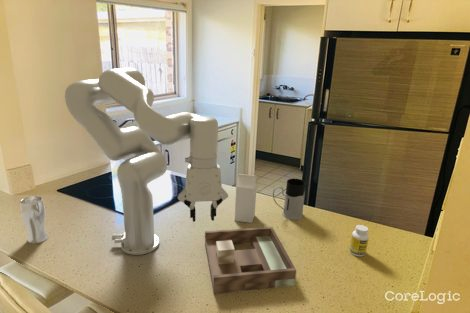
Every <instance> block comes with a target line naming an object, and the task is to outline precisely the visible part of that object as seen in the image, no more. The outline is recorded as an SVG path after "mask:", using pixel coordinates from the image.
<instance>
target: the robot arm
mask: <svg viewBox="0 0 470 313" xmlns="http://www.w3.org/2000/svg"><path fill="white" fill-rule="evenodd" d="M64 99H65V100H64V101H65V105H66V108H67V110H68V112H69V114H70V115H71V116H72V117H73V119H74V120H75V121H76V122H77V123H79V125H81V127H82V128H83V129H85V131H86V132H87V133H88V134H89V135H90V137H91V139H93V141H94V142H95V144H96V145H97V146H98V147H99V149H100V150H101V151H102V153H103V154H104V155H105V156H106V157H107V158H108V159H109V160H110V161H114V162H116V161H121V160H124V159H125V160H124V161H122V162H121V163H120V164H119V166H117V170H116V177H117V180H118V184H119V187H120V188H119V189H120V192H121V199H122V201H121V202H122V210H123V223H124V232H122V233H114V234H111V241H114V242H113V243H114V244H119V243H120V247H121V250H122V252H124V253H125V254H128V255H133V256H142V255H145V254H149V253H152V252H153V251H155V250H156V249H157V248H158V247H159V245H160V238H159V236H157V234H155V225H154V224H155V223H154V222H155V220H154V203H153V202H154V201H153V198H154V197H153V194H152V192H151V190H150V189H149V187H148V184H149V183H151V182H152V181H154V180H156V179H159V178H160V177H162V176H164V175H165V174H166V172H167V170H168V161H167V159H166V157H165V156H164V154H163V152H162V150H160V149H159V147H158V146H157V145H156V144H155V142H154V141H156V142H158V143H159V144H162V145H165V146H166V145H167V146H168V145H170V146H171V145H174V144H177V143H179V142H182V141H184V140H189V144H190V145H189V156H187V157H184V163H188V165H187V169H186V176H185V187H184V188H183V189H182V190H181V192H180V193H179V194H178V195H177V199H178V200H179V201H180V202H182V203H184V205H186V206H187V208H189V219H191V218H192V221H193V222H194V223H195V222H196V206H195V205H196V203H197V202H199V203H200V202H211V204H210V220H211V221H215V217H217V208H218V207H219V205H221V204H222V203H223V202H224V201H225V200H227V199H228V198H229V194H228V192H226V190H225V189H224V188H223V187H222V186H223V185H222V183H223V182H222V170H221V166H220V165H219V164H218V142H219V141H218V140H219V135H218V134H219V124H218V123H219V122H218V120H217V119H216V118H214V117H212V116H204V115H198V114H196V113H193V112H188V111H184V112H179V113H175V114H170V115H167V116H165V115H162V114H161V113H159V112H158V111H157V110H155V109H154V108H152V106H153V103H154V100H155V96H154V92H153V91H152V89H150V88H149V87H147V86H146V80H145V76H144V75H143V73H141V71H140V70H138V69H136V68H132V67H121V68H109V69H106V70H104V71H103V72H101V73H100V75H99V77H98V78H94V79H93V78H91V79H90V78H89V79H81V80H77V81H75V82H72V83H70V84H69V85H68V86H67V87H66V88H65V92H64ZM114 103H117V104H119V105H121V106H122V107H124V108H125V109H127V110H128V111H130V112H131V113H133V117H134V120H135V122H136V125H137V126H133V125H132V126H127V127H123V128H122V127H119V126H118V125H117V124H116V122H115V121H114V119H113V118H112V117H110V115H109V114H108V113H106V112H105V111H102V110H101V109H99V108H97V107H99V106H103V105H110V104H114ZM153 140H154V141H153ZM132 156H133V157H132ZM129 157H130V158H129ZM126 158H127V159H126Z"/></svg>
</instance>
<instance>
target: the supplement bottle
mask: <svg viewBox="0 0 470 313" xmlns="http://www.w3.org/2000/svg"><path fill="white" fill-rule="evenodd" d="M368 233H369V228H368V227H367V226H366V225H363V224H357V225H356V226H355V228H354V230H353V231H352V233H351V238H350V244H349V248H348V250H349V252H350V253H351V255H353V256H356V257H363V256H365V255H366V253H367V247H368V243H369V239H370V236H369V234H368Z"/></svg>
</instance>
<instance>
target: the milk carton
mask: <svg viewBox="0 0 470 313" xmlns="http://www.w3.org/2000/svg"><path fill="white" fill-rule="evenodd" d="M257 188H258V180H257V175H253V174H243V173H238V176H237V181H236V186H235V205H234V206H235V207H234V208H235V209H234V221H235V222H241V223H242V222H243V223H249V224H252V223H253V221H254V218H255V215H256V203H257V202H256V201H257V200H256V199H257Z"/></svg>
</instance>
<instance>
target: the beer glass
mask: <svg viewBox="0 0 470 313" xmlns="http://www.w3.org/2000/svg"><path fill="white" fill-rule="evenodd" d="M19 210H20V215H21V220H22V221H23V223H24V226H25V228H26V231H27V242H28V243H29V244H31V245H35V244H40V243H43V242H45V241H46V240H48V238H49V236H48V235H49V234H48V232H47V230H46V214H47V213H46V207H45V203H44V199H43V197H42V196H41V195H29V196H26V197H24V198H22V199H21V200H20V201H19Z"/></svg>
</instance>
